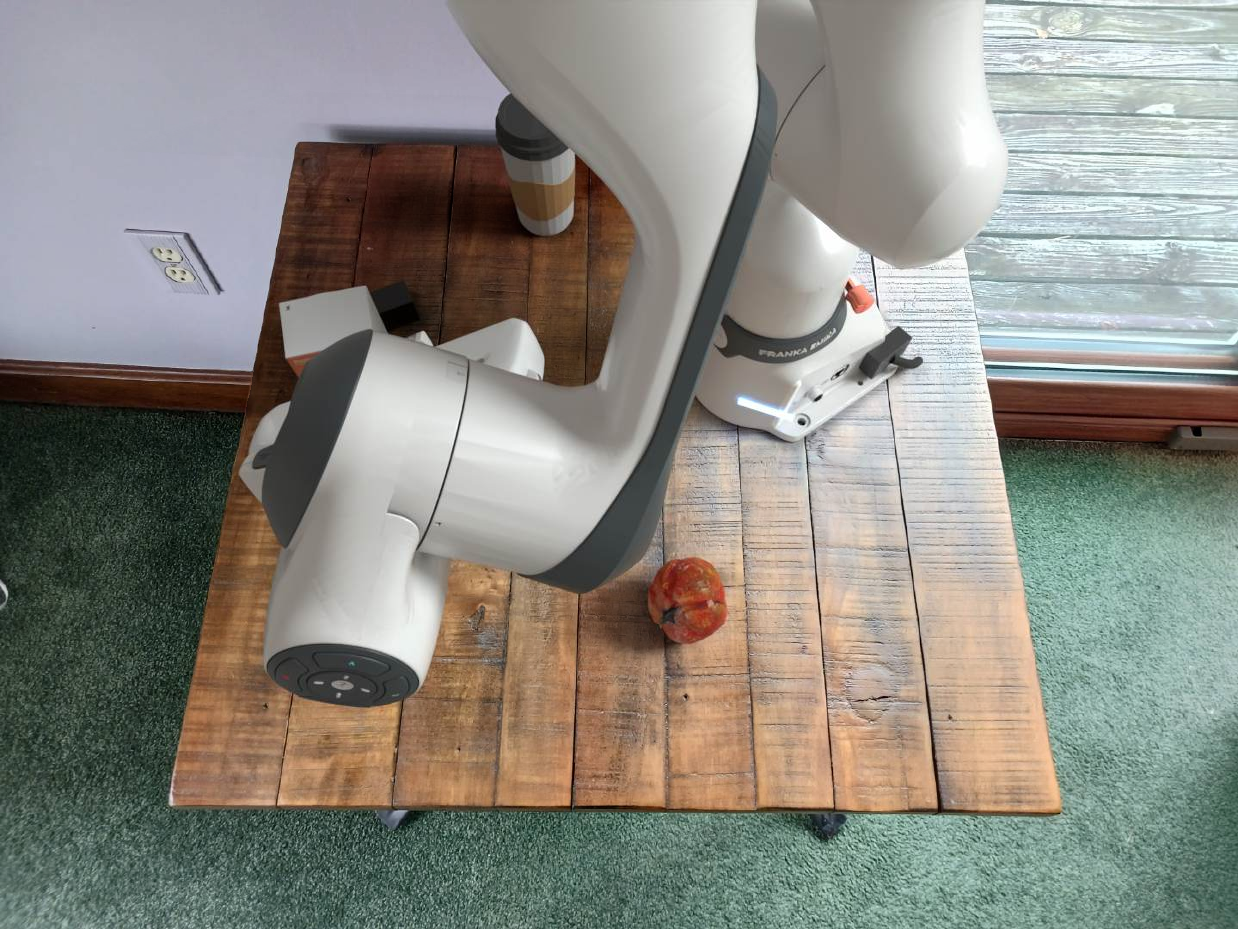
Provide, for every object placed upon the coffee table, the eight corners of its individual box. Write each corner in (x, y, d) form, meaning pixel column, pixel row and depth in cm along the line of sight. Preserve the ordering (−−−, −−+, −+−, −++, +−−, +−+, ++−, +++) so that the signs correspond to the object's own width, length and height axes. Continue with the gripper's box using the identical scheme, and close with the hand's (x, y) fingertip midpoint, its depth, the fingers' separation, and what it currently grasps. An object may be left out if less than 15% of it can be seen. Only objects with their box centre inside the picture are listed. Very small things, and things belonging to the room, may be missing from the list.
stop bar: (411, 299, 89) (403, 279, 86) (420, 319, 88) (413, 300, 85) (305, 337, 87) (293, 319, 84) (313, 359, 86) (301, 341, 82)
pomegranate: (676, 566, 79) (608, 595, 72) (725, 530, 74) (658, 558, 67) (715, 633, 77) (651, 670, 70) (768, 600, 73) (705, 637, 65)
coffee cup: (586, 190, 95) (581, 84, 81) (577, 247, 92) (570, 146, 78) (516, 185, 95) (499, 78, 82) (505, 241, 92) (485, 140, 78)
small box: (330, 426, 82) (282, 359, 71) (324, 373, 85) (276, 300, 73) (409, 408, 83) (375, 339, 71) (400, 357, 86) (365, 282, 74)
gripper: (520, 369, 46) (521, 258, 56) (213, 481, 49) (268, 356, 60) (563, 447, 50) (556, 330, 60) (277, 545, 53) (318, 418, 64)
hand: (411, 344), depth 60 cm, fingers closed
